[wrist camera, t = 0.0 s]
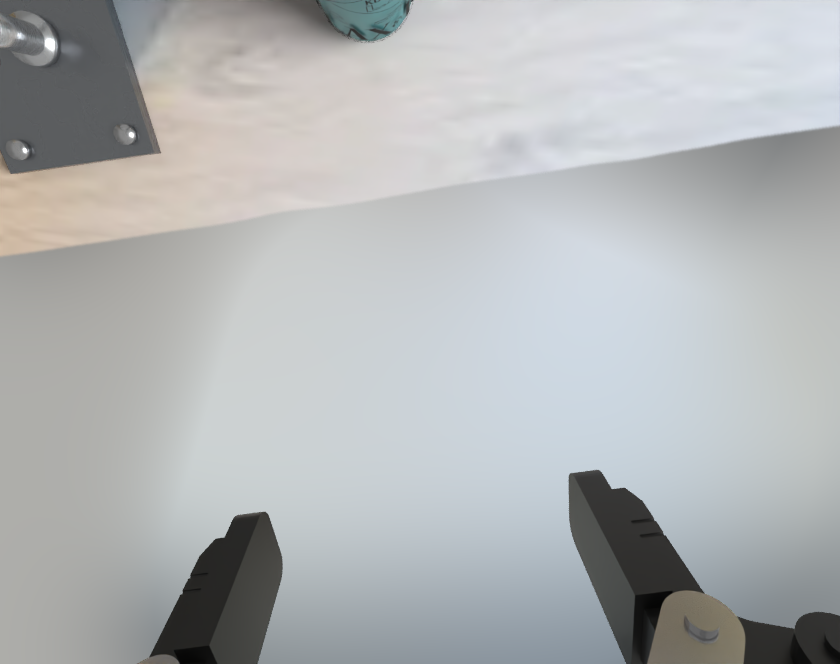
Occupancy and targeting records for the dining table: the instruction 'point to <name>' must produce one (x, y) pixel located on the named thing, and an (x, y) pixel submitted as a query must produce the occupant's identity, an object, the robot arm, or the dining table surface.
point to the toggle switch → (68, 87)
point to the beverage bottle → (366, 17)
